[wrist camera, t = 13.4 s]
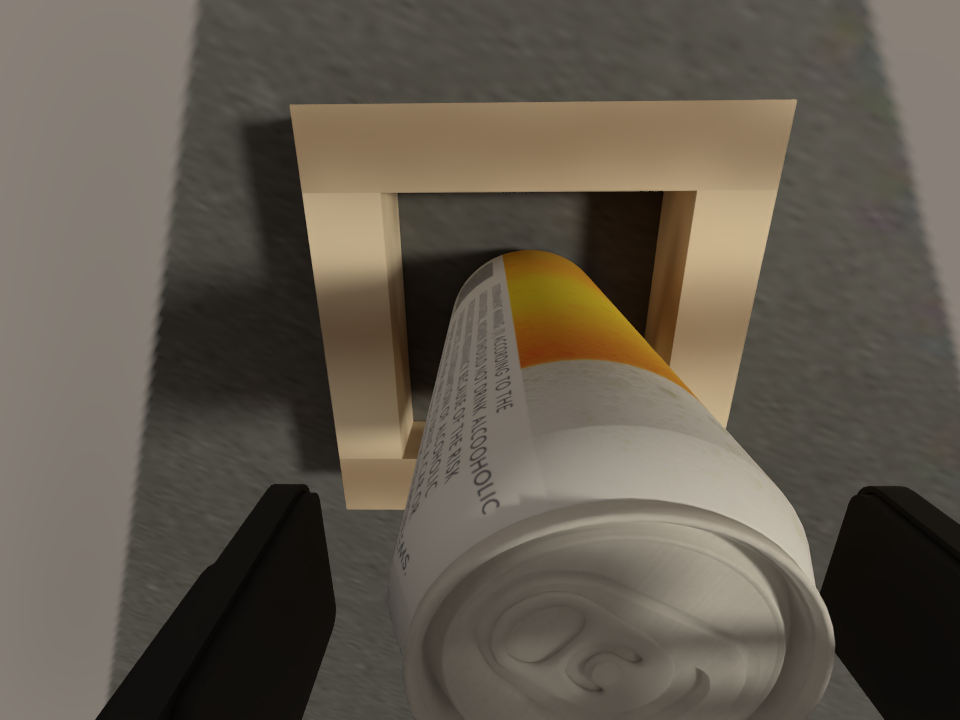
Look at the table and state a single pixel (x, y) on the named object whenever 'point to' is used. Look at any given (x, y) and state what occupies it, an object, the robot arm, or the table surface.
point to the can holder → (528, 168)
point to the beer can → (592, 529)
